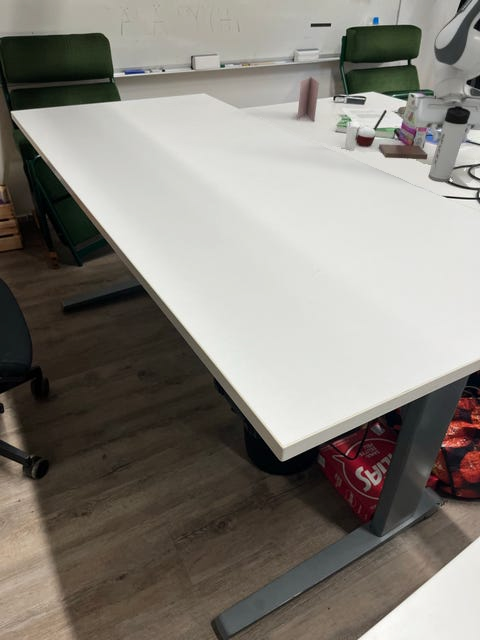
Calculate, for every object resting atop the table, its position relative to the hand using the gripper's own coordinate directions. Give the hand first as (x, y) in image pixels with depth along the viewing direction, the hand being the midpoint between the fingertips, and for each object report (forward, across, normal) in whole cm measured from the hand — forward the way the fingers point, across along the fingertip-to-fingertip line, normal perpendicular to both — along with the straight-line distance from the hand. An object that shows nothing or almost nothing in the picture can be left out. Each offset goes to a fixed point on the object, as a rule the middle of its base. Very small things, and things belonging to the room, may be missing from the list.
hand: (450, 140), depth 138 cm
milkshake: (-10, -24, +26) cm, 37 cm away
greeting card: (-36, -35, +53) cm, 73 cm away
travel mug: (+8, 0, +9) cm, 12 cm away
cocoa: (-14, -17, +30) cm, 38 cm away
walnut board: (-9, -6, +25) cm, 27 cm away
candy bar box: (-17, 0, +33) cm, 37 cm away
